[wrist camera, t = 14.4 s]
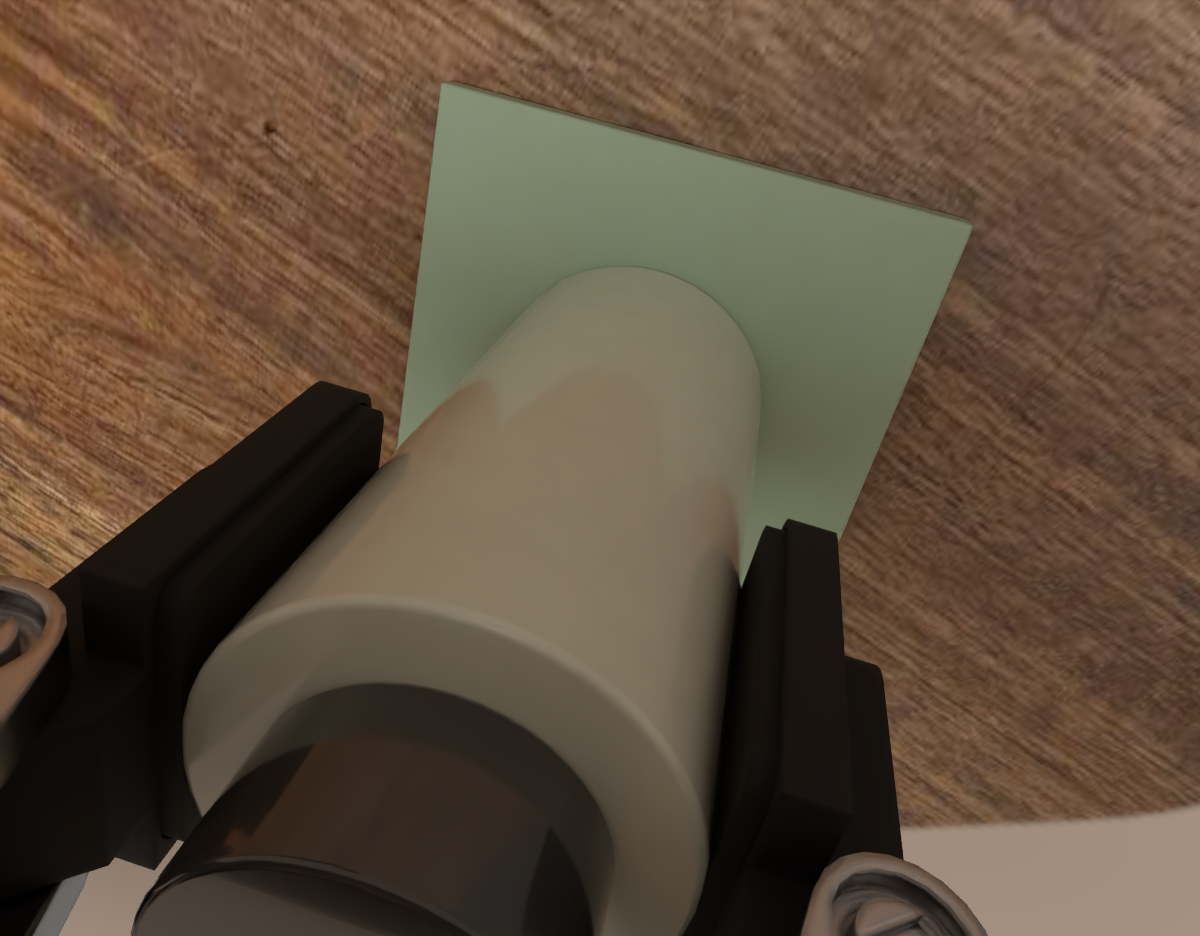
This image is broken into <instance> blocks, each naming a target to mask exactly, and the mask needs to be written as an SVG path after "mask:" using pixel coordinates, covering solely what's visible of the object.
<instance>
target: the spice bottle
mask: <svg viewBox="0 0 1200 936" xmlns="http://www.w3.org/2000/svg"><path fill="white" fill-rule="evenodd" d="M761 409H762V386H761V381H760V375H759V370H758V366H757V363H756V360H755V357H754V354H753V352H752V350H751V348H750V345H749V343H748V341H747V339H746V337H745V336H744V334H743V333H742V331H741V330H740V328H739V327H738V325H737V324H736V322H735V321H734V320H733V319H732V318H731V317H730V315H729V314H728V313H727V312H726V311H725V310H724V309H723V308H722V307H721V306H720V305H719V304H718V303H717V302H716V301H714V300H713V299H712V298H711V297H710V296H708V295H707V294H705V293H704V292H702V291H701V290H699V289H698V288H697V287H695V286H693V285H691V284H689V283H687V282H685V281H683V280H681V279H679V278H677V277H674V276H671V275H669V274H666V273H663V272H660V271H655V270H651V269H646V268H640V267H627V266H618V267H603V268H598V269H593V270H588V271H585V272H582V273H579V274H576V275H573V276H570V277H568V278H566V279H564V280H562V281H560V282H558V283H556V284H555V285H553V286H552V287H550V288H549V289H547V290H546V291H544V292H543V293H542V294H540V295H539V296H538V297H537V298H536V299H535V300H534V301H533V302H532V303H531V304H530V305H529V306H528V307H527V308H526V309H525V310H524V311H523V312H522V313H521V314H520V316H519V317H518V318H517V319H516V320H515V321H514V322H513V323H512V324H511V325H510V326H509V328H508V329H507V330H506V331H505V332H504V333H503V334H502V335H501V336H500V337H499V338H498V340H497V341H496V342H495V343H494V344H493V345H492V346H491V347H490V348H489V349H488V350H487V352H486V353H485V354H484V355H483V356H482V357H481V358H480V359H479V360H478V361H477V362H476V364H475V365H474V366H473V367H472V368H471V369H470V370H469V371H468V372H467V373H466V374H465V376H464V377H463V378H462V379H461V380H460V381H459V382H458V383H457V384H456V385H455V386H454V388H453V389H452V390H451V391H450V392H449V393H448V394H447V395H446V396H445V397H444V398H443V400H442V401H441V402H440V403H439V404H438V405H437V406H436V407H435V408H434V409H433V411H432V412H431V413H430V414H429V415H428V416H427V417H426V418H425V419H424V420H423V421H422V423H421V424H420V425H419V426H418V427H417V428H416V429H415V430H414V431H413V432H412V433H411V435H410V436H409V437H408V438H407V439H406V440H405V441H404V442H403V443H402V444H401V445H400V447H399V448H398V449H397V450H396V451H395V452H394V453H393V454H392V455H391V456H390V457H389V459H388V460H387V461H386V462H385V463H384V464H383V465H382V466H381V467H380V468H379V469H378V471H377V472H376V473H375V474H374V475H373V476H372V477H371V478H370V479H369V480H368V481H367V483H366V484H365V485H364V486H363V487H362V488H361V489H360V490H359V491H358V492H357V493H356V495H355V496H354V497H353V498H352V499H351V500H350V501H349V502H348V503H347V504H346V505H345V507H344V508H343V509H342V510H341V511H340V512H339V513H338V514H337V515H336V516H335V517H334V519H333V520H332V521H331V522H330V523H329V524H328V525H327V526H326V527H325V528H324V529H323V531H322V532H321V533H320V534H319V535H318V536H317V537H316V538H315V539H314V540H313V541H312V543H311V544H310V545H309V546H308V547H307V548H306V549H305V550H304V551H303V552H302V553H301V555H300V556H299V557H298V558H297V559H296V560H295V561H294V562H293V563H292V564H291V565H290V567H289V568H288V569H287V570H286V571H285V572H284V573H283V574H282V575H281V576H280V577H279V579H278V580H277V581H276V582H275V583H274V584H273V585H272V586H271V587H270V588H269V589H268V591H267V592H266V593H265V594H264V595H263V596H262V597H261V598H260V599H259V600H258V601H257V603H256V604H255V605H254V606H253V607H252V608H251V609H250V610H249V611H248V612H247V613H246V615H245V616H244V617H243V618H242V619H241V620H240V621H239V622H238V623H237V624H236V625H235V627H234V628H233V629H232V630H231V631H230V632H229V633H228V634H227V635H226V636H225V637H224V639H223V640H222V641H221V642H220V643H219V644H218V645H217V646H216V648H215V649H214V650H213V652H212V653H211V654H210V655H209V657H208V658H207V659H206V661H205V662H204V663H203V665H202V666H201V668H200V670H199V672H198V674H197V676H196V678H195V680H194V682H193V685H192V687H191V690H190V693H189V697H188V701H187V705H186V709H185V712H184V716H183V763H184V769H185V773H186V776H187V780H188V784H189V788H190V791H191V794H192V796H193V799H194V801H195V804H196V806H197V808H198V811H199V813H200V816H201V817H202V819H201V820H200V822H199V823H198V824H197V826H196V827H195V828H194V830H193V831H192V832H191V834H190V835H189V836H188V838H187V839H186V840H185V842H184V843H183V844H182V846H181V847H180V849H179V850H178V851H177V853H176V854H175V855H174V857H173V858H172V859H171V861H170V862H169V864H168V865H167V866H166V867H165V869H164V870H163V871H162V873H161V874H160V876H159V877H158V878H157V880H156V881H155V882H154V884H153V885H152V886H151V888H150V889H149V890H148V892H147V893H146V894H145V896H144V899H143V900H142V902H141V903H140V905H139V907H138V909H137V912H136V916H135V919H134V923H133V927H132V931H131V936H682V935H683V934H684V932H685V930H686V928H687V927H688V925H689V923H690V921H691V920H692V918H693V916H694V914H695V912H696V909H697V906H698V903H699V900H700V897H701V894H702V891H703V886H704V882H705V879H706V876H707V873H708V870H709V863H710V855H711V846H712V837H713V829H714V820H715V811H716V802H717V794H718V785H719V776H720V767H721V759H722V750H723V741H724V732H725V724H726V715H727V706H728V697H729V689H730V680H731V671H732V662H733V654H734V645H735V636H736V627H737V619H738V610H739V601H740V592H741V584H742V575H743V566H744V557H745V549H746V540H747V531H748V523H749V514H750V505H751V496H752V488H753V479H754V470H755V461H756V453H757V444H758V435H759V426H760V418H761Z"/></svg>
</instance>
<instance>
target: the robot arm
mask: <svg viewBox="0 0 1200 936" xmlns="http://www.w3.org/2000/svg"><path fill="white" fill-rule="evenodd" d="M383 424H384V418H383V413H382V412H381V411H379V410H376V409H373V408H372V404H371V399H370V397H369V395H368V394H365V393H362V392H358V391H355V390H352V389H348V388H345V387H341V386H338V385H335V384H331V383H328V382H324V381H319V382H317V383H315V384H314V385H312V386H311V387H310V388H309V389H307V390H306V391H305V392H303V393H302V394H301V395H300V396H298V397H297V398H296V399H295V400H293V401H292V402H291V403H289V404H288V405H287V406H286V407H284V408H283V409H282V410H281V411H279V412H278V413H277V414H275V415H274V416H273V417H272V418H270V419H269V420H268V421H266V422H265V423H264V424H263V425H261V426H260V427H259V428H258V429H256V430H255V431H254V432H252V433H251V434H250V435H249V436H247V437H246V438H245V439H244V440H242V441H241V442H240V443H238V444H237V445H236V446H235V447H233V448H232V449H231V450H230V451H228V452H227V453H226V454H224V455H223V456H222V457H221V458H219V459H218V460H217V461H216V462H214V463H213V464H212V465H209V466H208V467H206V468H204V469H202V470H200V471H199V472H198V473H196V474H195V475H194V476H192V477H191V478H190V479H189V480H187V481H186V482H185V483H183V484H182V485H181V486H180V487H178V488H177V489H176V490H174V491H173V492H172V493H171V494H169V495H168V496H167V497H165V498H164V499H163V500H162V501H160V502H159V503H158V504H157V505H155V506H154V507H153V508H151V509H150V510H149V511H148V512H146V513H145V514H144V515H142V516H141V517H140V518H139V519H137V520H136V521H135V522H133V523H132V524H131V525H130V526H128V527H127V528H126V529H124V530H123V531H122V532H121V533H119V534H118V535H117V536H115V537H114V538H113V539H112V540H110V541H109V542H108V543H106V544H105V545H104V546H103V547H101V548H100V549H99V550H98V551H96V552H95V553H94V554H92V555H91V556H90V557H89V558H87V559H86V560H85V561H83V562H82V563H81V564H80V565H78V566H77V567H76V568H74V569H73V570H72V571H71V572H69V573H68V574H67V575H65V576H64V577H63V578H62V579H60V580H59V581H58V582H56V583H55V584H54V585H53V586H51V587H50V588H49V589H48V588H46V587H44V586H43V585H41V584H39V583H37V582H34V581H30V580H26V579H23V578H19V577H15V576H5V575H0V936H58V935H59V933H60V932H61V929H62V928H63V926H64V924H65V922H66V920H67V918H68V916H69V914H70V912H71V910H72V908H73V906H74V904H75V903H76V901H77V899H78V897H79V895H80V893H81V891H82V889H83V887H84V884H85V881H86V878H87V875H88V872H90V871H93V870H96V869H99V868H102V867H105V866H108V865H109V864H110V863H111V861H112V860H113V859H114V858H115V857H116V858H120V859H123V860H125V861H128V862H131V863H134V864H137V865H140V866H143V867H146V868H149V869H152V870H155V869H156V868H157V867H158V865H159V864H160V863H161V861H162V860H163V858H164V857H165V856H166V855H167V853H168V852H169V850H170V849H171V848H172V846H173V845H174V844H175V842H176V841H177V840H181V841H184V842H185V840H186V839H187V838H188V836H189V835H190V834H191V832H192V831H193V830H194V828H195V827H196V826H197V824H198V823H199V822H200V820H201V819H202V817H201V816H200V813H199V811H198V808H197V806H196V804H195V801H194V799H193V796H192V794H191V791H190V788H189V784H188V780H187V776H186V773H185V769H184V763H183V716H184V712H185V709H186V705H187V701H188V697H189V693H190V690H191V687H192V685H193V682H194V680H195V678H196V676H197V674H198V672H199V670H200V668H201V666H202V665H203V663H204V662H205V661H206V659H207V658H208V657H209V655H210V654H211V653H212V652H213V650H214V649H215V648H216V646H217V645H218V644H219V643H220V642H221V641H222V640H223V639H224V637H225V636H226V635H227V634H228V633H229V632H230V631H231V630H232V629H233V628H234V627H235V625H236V624H237V623H238V622H239V621H240V620H241V619H242V618H243V617H244V616H245V615H246V613H247V612H248V611H249V610H250V609H251V608H252V607H253V606H254V605H255V604H256V603H257V601H258V600H259V599H260V598H261V597H262V596H263V595H264V594H265V593H266V592H267V591H268V589H269V588H270V587H271V586H272V585H273V584H274V583H275V582H276V581H277V580H278V579H279V577H280V576H281V575H282V574H283V573H284V572H285V571H286V570H287V569H288V568H289V567H290V565H291V564H292V563H293V562H294V561H295V560H296V559H297V558H298V557H299V556H300V555H301V553H302V552H303V551H304V550H305V549H306V548H307V547H308V546H309V545H310V544H311V543H312V541H313V540H314V539H315V538H316V537H317V536H318V535H319V534H320V533H321V532H322V531H323V529H324V528H325V527H326V526H327V525H328V524H329V523H330V522H331V521H332V520H333V519H334V517H335V516H336V515H337V514H338V513H339V512H340V511H341V510H342V509H343V508H344V507H345V505H346V504H347V503H348V502H349V501H350V500H351V499H352V498H353V497H354V496H355V495H356V493H357V492H358V491H359V490H360V489H361V488H362V487H363V486H364V485H365V484H366V483H367V481H368V480H369V479H370V478H371V477H372V476H373V475H374V474H375V473H376V472H377V471H378V469H379V461H380V452H381V443H382V434H383ZM682 936H988V935H987V933H986V931H985V929H984V928H983V926H982V925H981V924H980V922H979V921H978V919H977V918H976V917H975V915H974V914H973V912H972V911H971V910H970V908H969V907H968V905H967V904H966V903H965V902H964V901H963V900H962V899H960V897H958V896H957V895H956V894H955V893H954V892H953V891H952V890H951V889H950V888H949V887H948V886H947V885H946V884H945V883H944V882H942V881H941V880H939V879H938V878H936V877H934V876H933V875H931V874H930V873H928V872H927V871H925V870H923V869H922V868H920V867H919V866H917V865H915V864H912V863H910V862H907V861H904V859H903V850H902V842H901V833H900V824H899V815H898V806H897V797H896V788H895V780H894V771H893V762H892V753H891V744H890V736H889V727H888V718H887V709H886V700H885V691H884V683H883V677H882V673H881V670H880V668H879V667H878V666H877V665H874V664H871V663H868V662H864V661H861V660H858V659H855V658H851V657H848V656H845V653H844V636H843V619H842V602H841V585H840V568H839V551H838V537H837V533H835V532H832V531H829V530H826V529H822V528H819V527H816V526H812V525H809V524H805V523H802V522H799V521H795V520H792V519H789V518H788V519H787V520H786V521H785V523H784V525H783V527H782V529H778V528H774V527H771V526H768V525H766V526H765V528H764V530H763V532H762V534H761V536H760V539H759V542H758V544H757V547H756V550H755V552H754V555H753V558H752V561H751V563H750V566H749V569H748V571H747V574H746V577H745V579H744V582H743V585H742V587H741V592H740V601H739V610H738V619H737V627H736V636H735V645H734V654H733V662H732V671H731V680H730V689H729V697H728V706H727V715H726V724H725V732H724V741H723V750H722V759H721V767H720V776H719V785H718V794H717V802H716V811H715V820H714V829H713V837H712V846H711V855H710V863H709V870H708V873H707V876H706V879H705V882H704V886H703V891H702V894H701V897H700V900H699V903H698V906H697V909H696V912H695V914H694V916H693V918H692V920H691V921H690V923H689V925H688V927H687V928H686V930H685V932H684V934H683V935H682Z"/></svg>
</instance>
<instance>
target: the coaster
mask: <svg viewBox="0 0 1200 936" xmlns="http://www.w3.org/2000/svg"><path fill="white" fill-rule="evenodd" d="M972 230H973V225H972V223H971V222H970V221H969V220H968V219H964V218H961V217H957V216H953V215H949V214H946V213H942V212H938V211H935V210H931V209H927V208H923V207H920V206H916V205H912V204H909V203H905V202H901V201H897V200H894V199H890V198H886V197H882V196H879V195H875V194H871V193H868V192H864V191H860V190H856V189H853V188H849V187H845V186H842V185H838V184H834V183H830V182H827V181H823V180H819V179H815V178H812V177H808V176H804V175H801V174H797V173H793V172H789V171H786V170H782V169H778V168H775V167H771V166H767V165H763V164H760V163H756V162H752V161H748V160H745V159H741V158H737V157H734V156H730V155H726V154H722V153H719V152H715V151H711V150H707V149H704V148H700V147H696V146H693V145H689V144H685V143H681V142H678V141H674V140H670V139H667V138H663V137H659V136H655V135H652V134H648V133H644V132H640V131H637V130H633V129H629V128H626V127H622V126H618V125H614V124H611V123H607V122H603V121H600V120H596V119H592V118H588V117H585V116H581V115H577V114H573V113H570V112H566V111H562V110H559V109H555V108H551V107H547V106H544V105H540V104H536V103H533V102H529V101H525V100H521V99H518V98H514V97H510V96H506V95H503V94H499V93H495V92H492V91H488V90H484V89H480V88H477V87H473V86H469V85H466V84H462V83H458V82H454V81H448V82H444V83H442V85H441V91H440V99H439V107H438V115H437V123H436V132H435V140H434V148H433V156H432V164H431V172H430V181H429V189H428V197H427V205H426V213H425V222H424V230H423V238H422V246H421V254H420V262H419V271H418V279H417V287H416V295H415V303H414V312H413V320H412V328H411V336H410V344H409V352H408V361H407V369H406V377H405V385H404V393H403V401H402V410H401V418H400V426H399V434H398V442H397V449H398V448H399V447H400V445H401V444H402V443H403V442H404V441H405V440H406V439H407V438H408V437H409V436H410V435H411V433H412V432H413V431H414V430H415V429H416V428H417V427H418V426H419V425H420V424H421V423H422V421H423V420H424V419H425V418H426V417H427V416H428V415H429V414H430V413H431V412H432V411H433V409H434V408H435V407H436V406H437V405H438V404H439V403H440V402H441V401H442V400H443V398H444V397H445V396H446V395H447V394H448V393H449V392H450V391H451V390H452V389H453V388H454V386H455V385H456V384H457V383H458V382H459V381H460V380H461V379H462V378H463V377H464V376H465V374H466V373H467V372H468V371H469V370H470V369H471V368H472V367H473V366H474V365H475V364H476V362H477V361H478V360H479V359H480V358H481V357H482V356H483V355H484V354H485V353H486V352H487V350H488V349H489V348H490V347H491V346H492V345H493V344H494V343H495V342H496V341H497V340H498V338H499V337H500V336H501V335H502V334H503V333H504V332H505V331H506V330H507V329H508V328H509V326H510V325H511V324H512V323H513V322H514V321H515V320H516V319H517V318H518V317H519V316H520V314H521V313H522V312H523V311H524V310H525V309H526V308H527V307H528V306H529V305H530V304H531V303H532V302H533V301H534V300H535V299H536V298H537V297H538V296H539V295H540V294H542V293H543V292H544V291H546V290H547V289H549V288H550V287H552V286H553V285H555V284H556V283H558V282H560V281H562V280H564V279H566V278H568V277H570V276H573V275H576V274H579V273H582V272H585V271H588V270H593V269H598V268H603V267H618V266H627V267H640V268H646V269H651V270H655V271H660V272H663V273H666V274H669V275H671V276H674V277H677V278H679V279H681V280H683V281H685V282H687V283H689V284H691V285H693V286H695V287H697V288H698V289H699V290H701V291H702V292H704V293H705V294H707V295H708V296H710V297H711V298H712V299H713V300H714V301H716V302H717V303H718V304H719V305H720V306H721V307H722V308H723V309H724V310H725V311H726V312H727V313H728V314H729V315H730V317H731V318H732V319H733V320H734V321H735V322H736V324H737V325H738V327H739V328H740V330H741V331H742V333H743V334H744V336H745V337H746V339H747V341H748V343H749V345H750V348H751V350H752V352H753V354H754V357H755V360H756V363H757V366H758V370H759V375H760V381H761V386H762V409H761V418H760V426H759V435H758V444H757V453H756V461H755V470H754V479H753V488H752V496H751V505H750V514H749V523H748V531H747V540H746V549H745V557H744V566H743V575H742V584H741V587H742V585H743V582H744V579H745V577H746V574H747V571H748V569H749V566H750V563H751V561H752V558H753V555H754V552H755V550H756V547H757V544H758V542H759V539H760V536H761V534H762V532H763V530H764V528H765V526H766V525H768V526H771V527H774V528H778V529H782V527H783V525H784V523H785V521H786V520H787V519H788V518H789V519H792V520H795V521H799V522H802V523H805V524H809V525H812V526H816V527H819V528H822V529H826V530H829V531H832V532H835V533H837V537H838V543H839V541H840V538H841V536H842V534H843V531H844V529H845V527H846V524H847V522H848V520H849V517H850V515H851V513H852V510H853V508H854V506H855V503H856V501H857V499H858V496H859V494H860V492H861V489H862V487H863V485H864V482H865V480H866V478H867V475H868V473H869V471H870V468H871V466H872V464H873V461H874V459H875V457H876V454H877V452H878V449H879V447H880V445H881V442H882V440H883V438H884V435H885V433H886V431H887V428H888V426H889V424H890V421H891V419H892V417H893V414H894V412H895V410H896V407H897V405H898V403H899V400H900V398H901V396H902V393H903V391H904V389H905V386H906V384H907V382H908V379H909V377H910V375H911V372H912V370H913V368H914V365H915V363H916V361H917V358H918V356H919V354H920V351H921V349H922V347H923V344H924V342H925V339H926V337H927V335H928V332H929V330H930V328H931V325H932V323H933V321H934V318H935V316H936V314H937V311H938V309H939V307H940V304H941V302H942V300H943V297H944V295H945V293H946V290H947V288H948V286H949V283H950V281H951V279H952V276H953V274H954V272H955V269H956V267H957V265H958V262H959V260H960V258H961V255H962V253H963V251H964V248H965V246H966V244H967V241H968V239H969V237H970V234H971V232H972Z"/></svg>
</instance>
